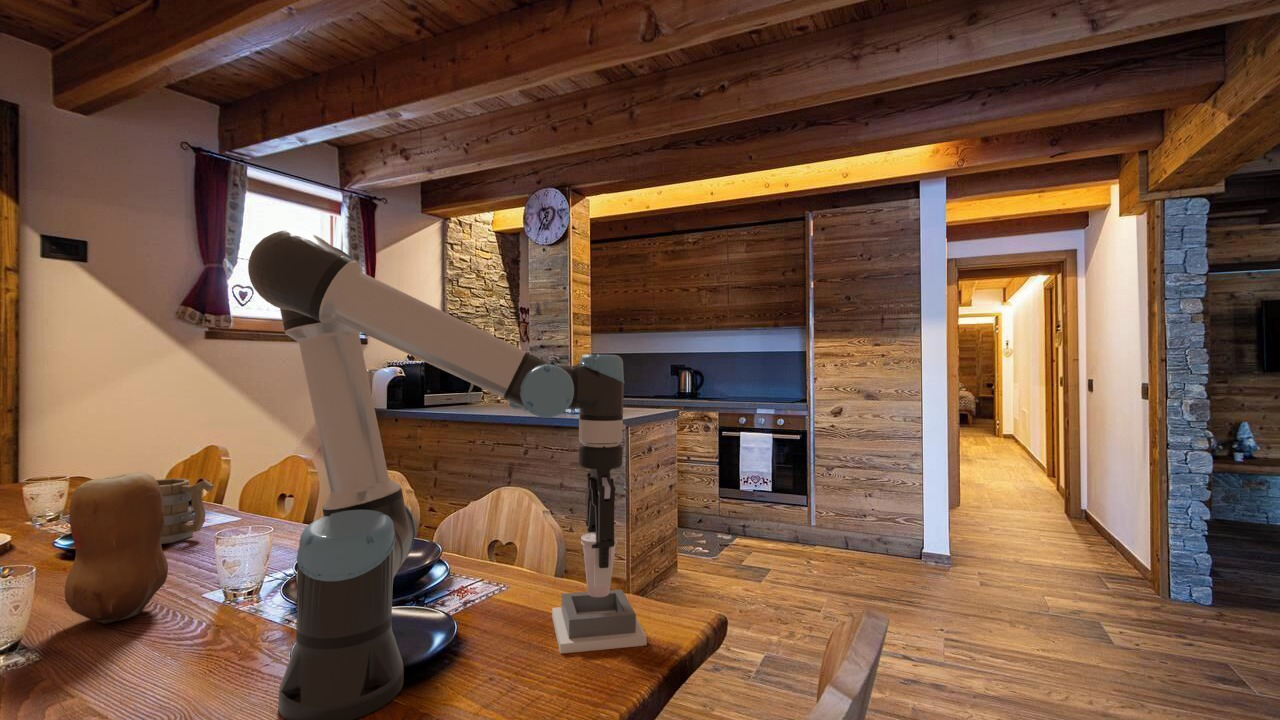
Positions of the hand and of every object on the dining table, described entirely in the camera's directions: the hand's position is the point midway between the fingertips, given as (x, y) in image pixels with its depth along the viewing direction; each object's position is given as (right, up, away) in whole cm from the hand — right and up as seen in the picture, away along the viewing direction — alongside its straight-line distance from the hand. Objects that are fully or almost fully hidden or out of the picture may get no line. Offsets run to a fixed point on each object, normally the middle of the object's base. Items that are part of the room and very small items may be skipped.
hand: (598, 577), depth 100 cm
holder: (0, -9, 0) cm, 9 cm away
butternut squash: (-83, -7, 0) cm, 83 cm away
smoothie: (0, -3, 0) cm, 3 cm away
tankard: (-109, -7, +45) cm, 118 cm away
